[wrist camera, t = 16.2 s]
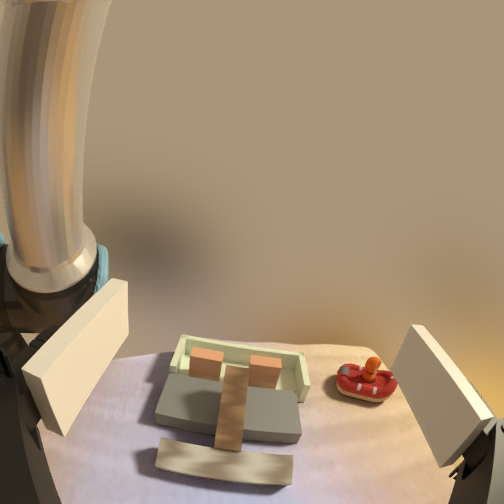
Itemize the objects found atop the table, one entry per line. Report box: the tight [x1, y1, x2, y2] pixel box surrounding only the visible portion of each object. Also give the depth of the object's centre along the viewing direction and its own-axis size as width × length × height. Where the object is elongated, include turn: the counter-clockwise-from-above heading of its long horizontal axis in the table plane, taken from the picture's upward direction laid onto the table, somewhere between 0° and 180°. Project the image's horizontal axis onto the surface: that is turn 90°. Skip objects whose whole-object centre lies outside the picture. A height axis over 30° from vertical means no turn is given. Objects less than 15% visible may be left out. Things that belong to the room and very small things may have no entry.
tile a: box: [189, 347, 224, 382], centre depth 45 cm, size 5×5×2 cm
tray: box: [170, 334, 311, 402], centre depth 47 cm, size 22×9×4 cm, turn 88°
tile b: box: [248, 355, 282, 389], centre depth 46 cm, size 5×5×2 cm
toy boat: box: [336, 357, 398, 402], centre depth 47 cm, size 8×12×8 cm, turn 70°
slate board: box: [155, 372, 302, 443], centre depth 39 cm, size 20×9×2 cm, turn 88°
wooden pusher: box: [155, 365, 293, 486], centre depth 33 cm, size 16×3×16 cm
